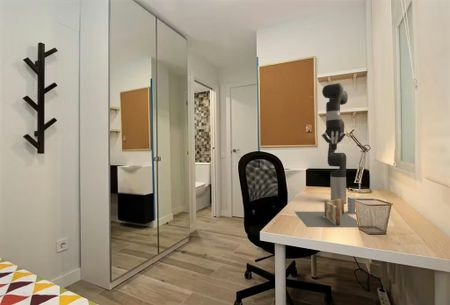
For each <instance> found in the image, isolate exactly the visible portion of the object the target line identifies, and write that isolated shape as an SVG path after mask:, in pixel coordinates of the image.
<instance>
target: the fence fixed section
mask: <svg viewBox="0 0 450 305" xmlns="http://www.w3.org/2000/svg"><path fill="white" fill-rule="evenodd" d="M323 201H324V205H323V206H324V212H325V217H327V215H326V202H329V203H331V204H333V205H335V206H336V207H340V214H344V213H345V204H344V198H340V199H337V200H331V199H330V200H328V199H324V200H323Z"/></svg>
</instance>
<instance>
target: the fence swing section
mask: <svg viewBox="0 0 450 305" xmlns="http://www.w3.org/2000/svg"><path fill="white" fill-rule="evenodd" d="M326 215H327V217H328V218H329V219H330V220H332V221H333V222H334V223H336V225H340V207H336V206H335V205H333V204H331V203H329V202H326Z"/></svg>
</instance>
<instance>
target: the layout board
mask: <svg viewBox="0 0 450 305" xmlns="http://www.w3.org/2000/svg"><path fill="white" fill-rule="evenodd" d="M294 213H295V214H296V216H297V217H298V218H299V219H300V220H301V222H302V223H303V224H304V225H305V226H306V228H359V227H358V224H357V219H356V218H354V217H352V216H351V215H350V214H347V213H346V212H344V214H340V225H336V223H334V222H333V221H332V220H330V219H329V218H328V217H325V211H294Z"/></svg>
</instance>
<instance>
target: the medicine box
mask: <svg viewBox="0 0 450 305" xmlns="http://www.w3.org/2000/svg"><path fill="white" fill-rule="evenodd" d="M355 199H366V198H365V197H362V196H351V197H349V196H348V197H347V212H348V213H349V214H351V215H354V214H356V212H355ZM356 215H357V214H356Z"/></svg>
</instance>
